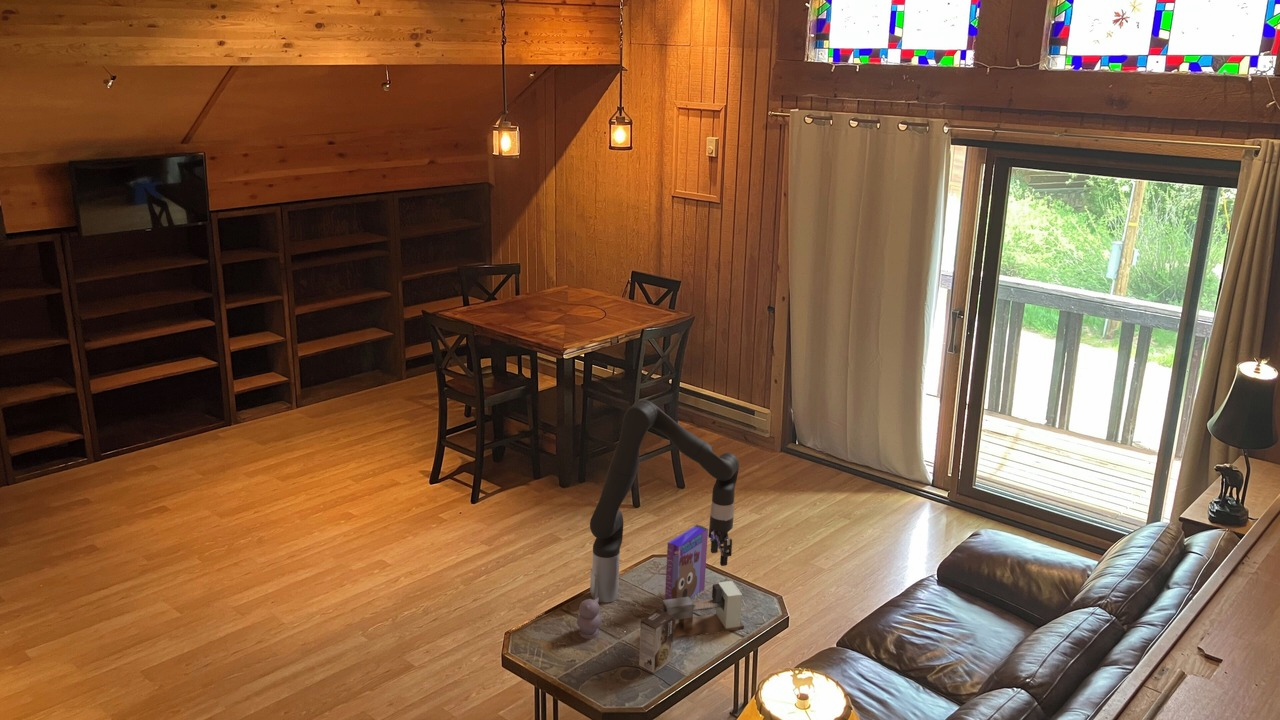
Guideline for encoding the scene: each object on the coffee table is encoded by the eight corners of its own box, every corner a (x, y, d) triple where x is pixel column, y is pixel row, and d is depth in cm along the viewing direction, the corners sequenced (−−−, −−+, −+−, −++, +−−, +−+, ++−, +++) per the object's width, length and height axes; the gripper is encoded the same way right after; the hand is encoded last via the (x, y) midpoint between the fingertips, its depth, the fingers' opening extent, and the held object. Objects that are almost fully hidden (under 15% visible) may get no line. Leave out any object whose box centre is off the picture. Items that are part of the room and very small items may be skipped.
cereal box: (675, 609, 341) (679, 546, 334) (664, 604, 344) (667, 542, 336) (704, 589, 354) (708, 528, 347) (693, 584, 357) (696, 524, 350)
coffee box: (656, 652, 316) (658, 608, 311) (672, 661, 312) (674, 615, 307) (638, 665, 309) (639, 619, 304) (654, 673, 305) (656, 627, 301)
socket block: (725, 628, 329) (727, 596, 325) (715, 614, 337) (718, 582, 334) (739, 626, 330) (742, 594, 327) (729, 612, 339) (731, 580, 335)
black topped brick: (686, 614, 326) (687, 593, 324) (683, 609, 329) (684, 588, 327) (731, 608, 331) (733, 587, 328) (728, 603, 334) (729, 582, 331)
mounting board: (666, 639, 323) (668, 611, 320) (658, 624, 332) (659, 596, 328) (743, 628, 331) (745, 600, 328) (733, 614, 339) (735, 587, 336)
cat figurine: (586, 623, 331) (587, 591, 327) (606, 630, 327) (607, 598, 323) (571, 635, 324) (572, 603, 320) (591, 643, 320) (592, 610, 316)
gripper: (703, 505, 326) (700, 549, 331) (719, 525, 313) (715, 571, 318) (724, 503, 328) (721, 547, 333) (741, 522, 315) (737, 568, 320)
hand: (718, 558), depth 326 cm, fingers open, 8 cm apart
